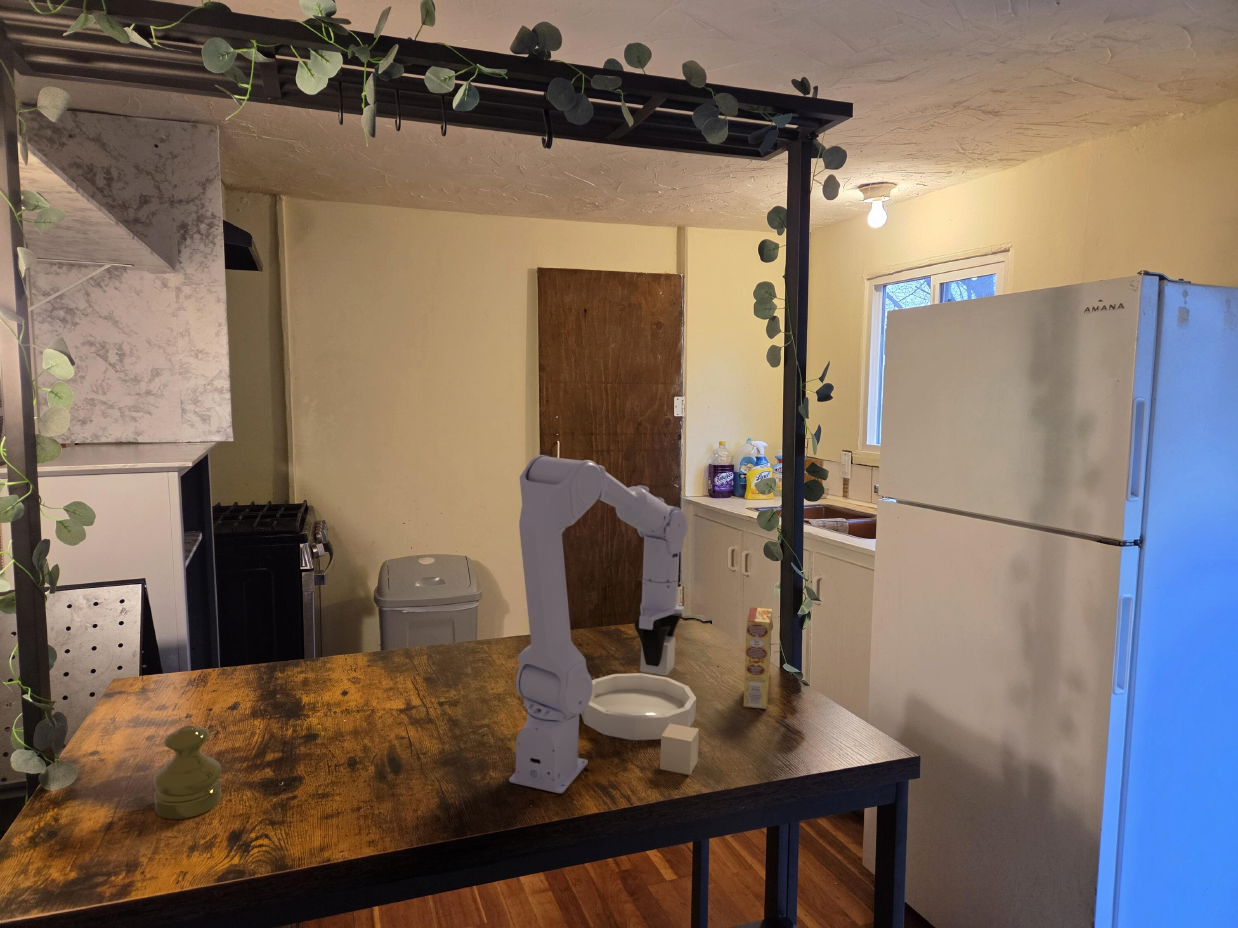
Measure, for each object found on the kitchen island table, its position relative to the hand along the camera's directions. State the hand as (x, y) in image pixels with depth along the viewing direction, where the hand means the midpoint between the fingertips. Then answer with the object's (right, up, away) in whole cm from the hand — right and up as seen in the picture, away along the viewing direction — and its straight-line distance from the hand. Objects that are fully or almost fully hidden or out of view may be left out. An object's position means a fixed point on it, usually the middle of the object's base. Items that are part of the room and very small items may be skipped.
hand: (657, 660), depth 128 cm
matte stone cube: (0, -2, 0) cm, 2 cm away
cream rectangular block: (+2, -12, -15) cm, 19 cm away
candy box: (+18, -10, +10) cm, 23 cm away
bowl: (-3, -10, +2) cm, 10 cm away
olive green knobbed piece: (-60, -11, -30) cm, 68 cm away
